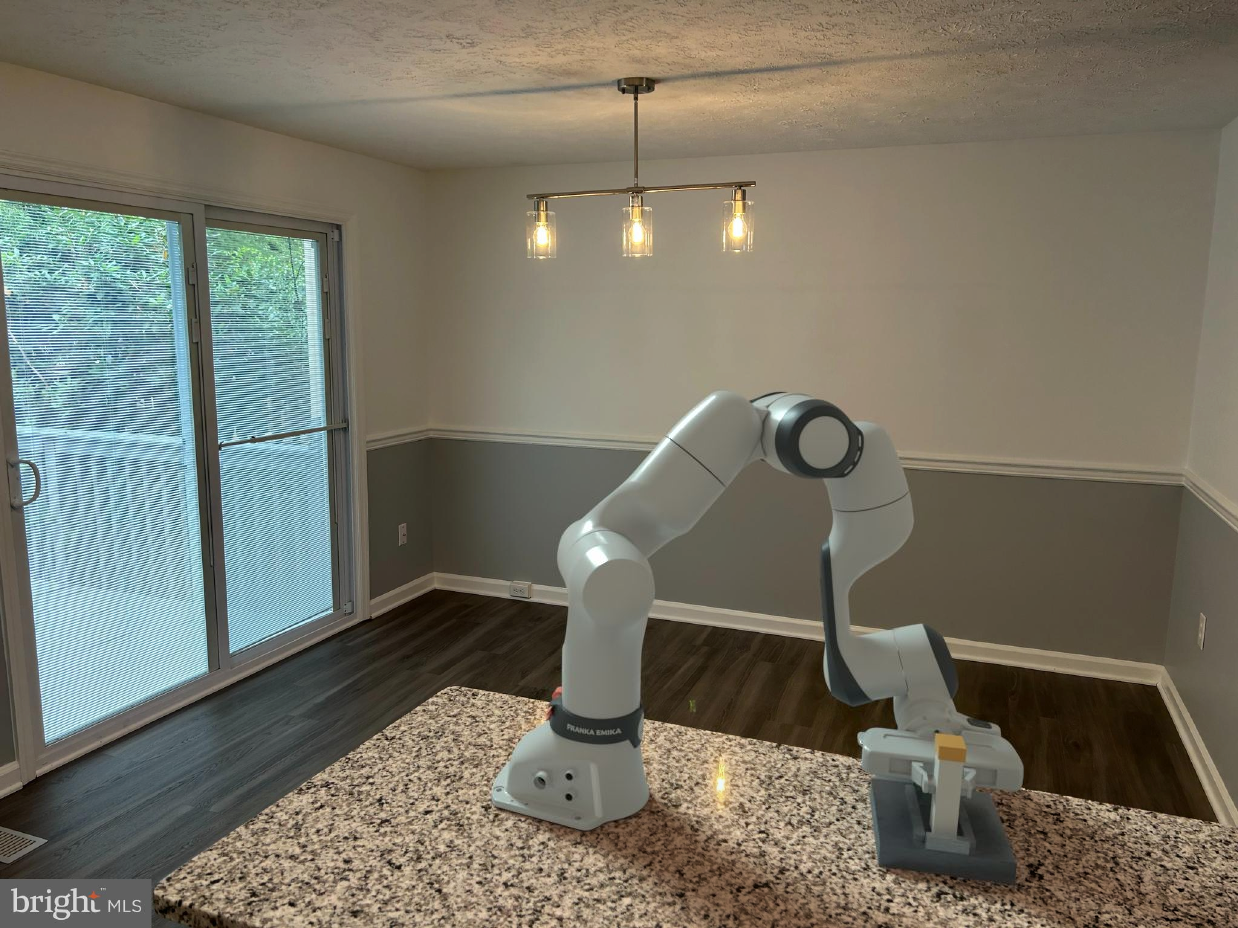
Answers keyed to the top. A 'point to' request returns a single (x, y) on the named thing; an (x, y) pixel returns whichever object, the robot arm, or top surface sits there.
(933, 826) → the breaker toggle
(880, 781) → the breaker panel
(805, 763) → the top surface
